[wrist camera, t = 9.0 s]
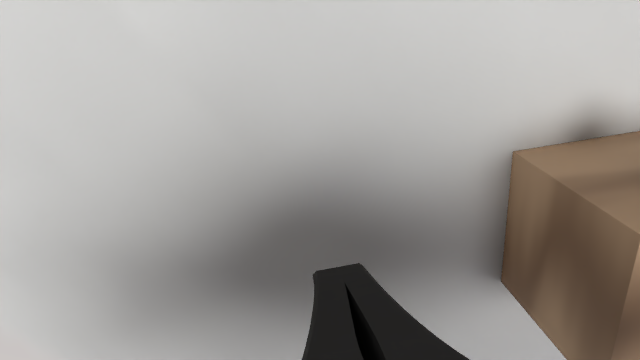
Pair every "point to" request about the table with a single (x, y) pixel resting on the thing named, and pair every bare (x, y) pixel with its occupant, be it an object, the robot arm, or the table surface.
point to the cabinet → (578, 244)
